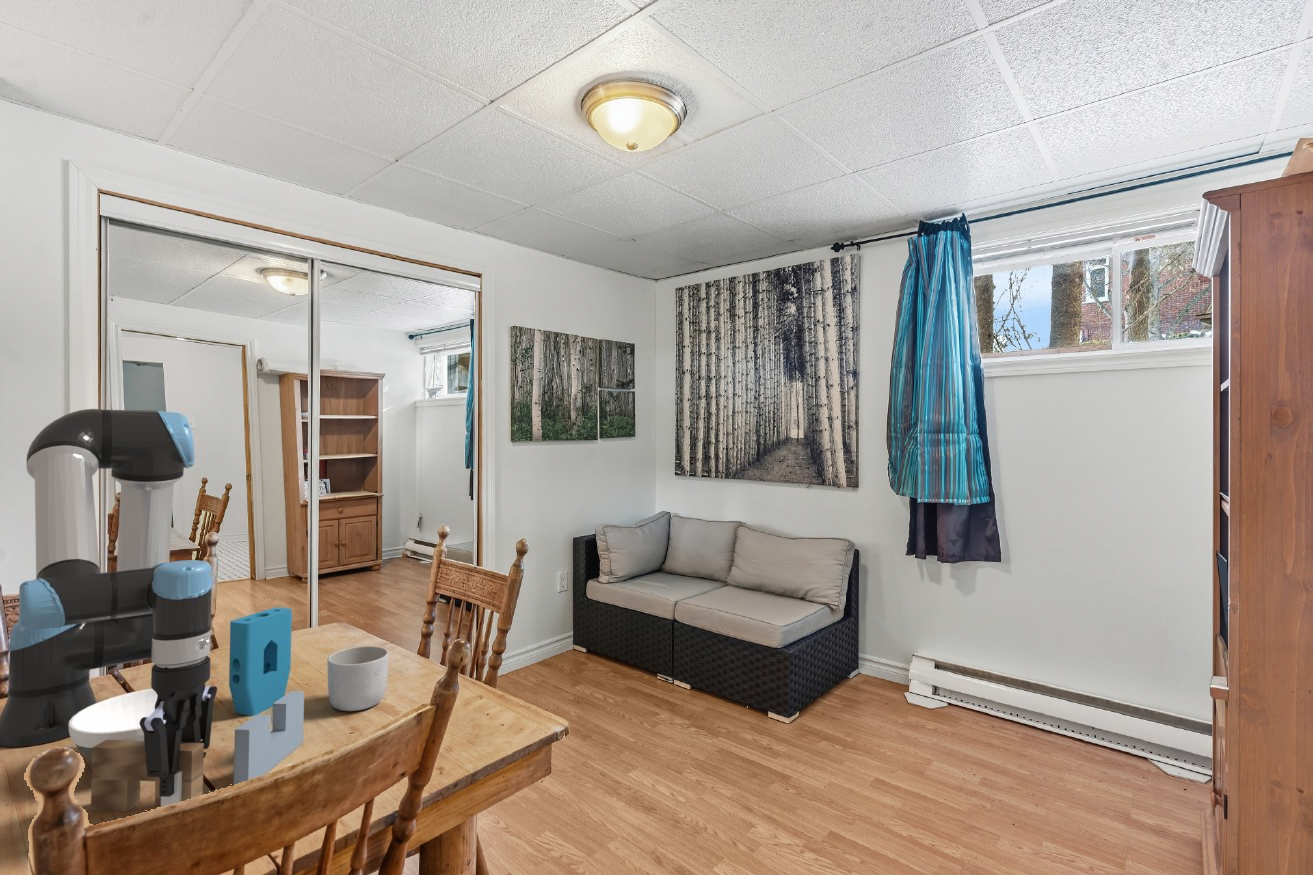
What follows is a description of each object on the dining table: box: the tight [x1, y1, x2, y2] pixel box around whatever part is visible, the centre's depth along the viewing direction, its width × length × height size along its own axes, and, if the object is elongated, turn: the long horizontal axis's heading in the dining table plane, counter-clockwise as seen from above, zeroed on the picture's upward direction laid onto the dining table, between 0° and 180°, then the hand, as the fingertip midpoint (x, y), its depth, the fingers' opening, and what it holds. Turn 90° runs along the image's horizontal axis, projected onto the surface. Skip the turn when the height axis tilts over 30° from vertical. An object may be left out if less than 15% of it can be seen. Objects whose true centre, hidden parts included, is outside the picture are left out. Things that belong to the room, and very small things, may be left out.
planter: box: [326, 645, 390, 712], centre depth 140 cm, size 12×12×11 cm
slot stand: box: [233, 690, 305, 785], centre depth 114 cm, size 16×2×10 cm, turn 179°
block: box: [228, 606, 293, 717], centre depth 138 cm, size 12×5×20 cm, turn 165°
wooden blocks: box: [90, 740, 205, 813], centre depth 101 cm, size 16×2×10 cm, turn 89°
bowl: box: [69, 688, 205, 762], centre depth 115 cm, size 20×20×10 cm
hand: (178, 806), depth 100 cm, fingers closed on wooden blocks, 3 cm apart
